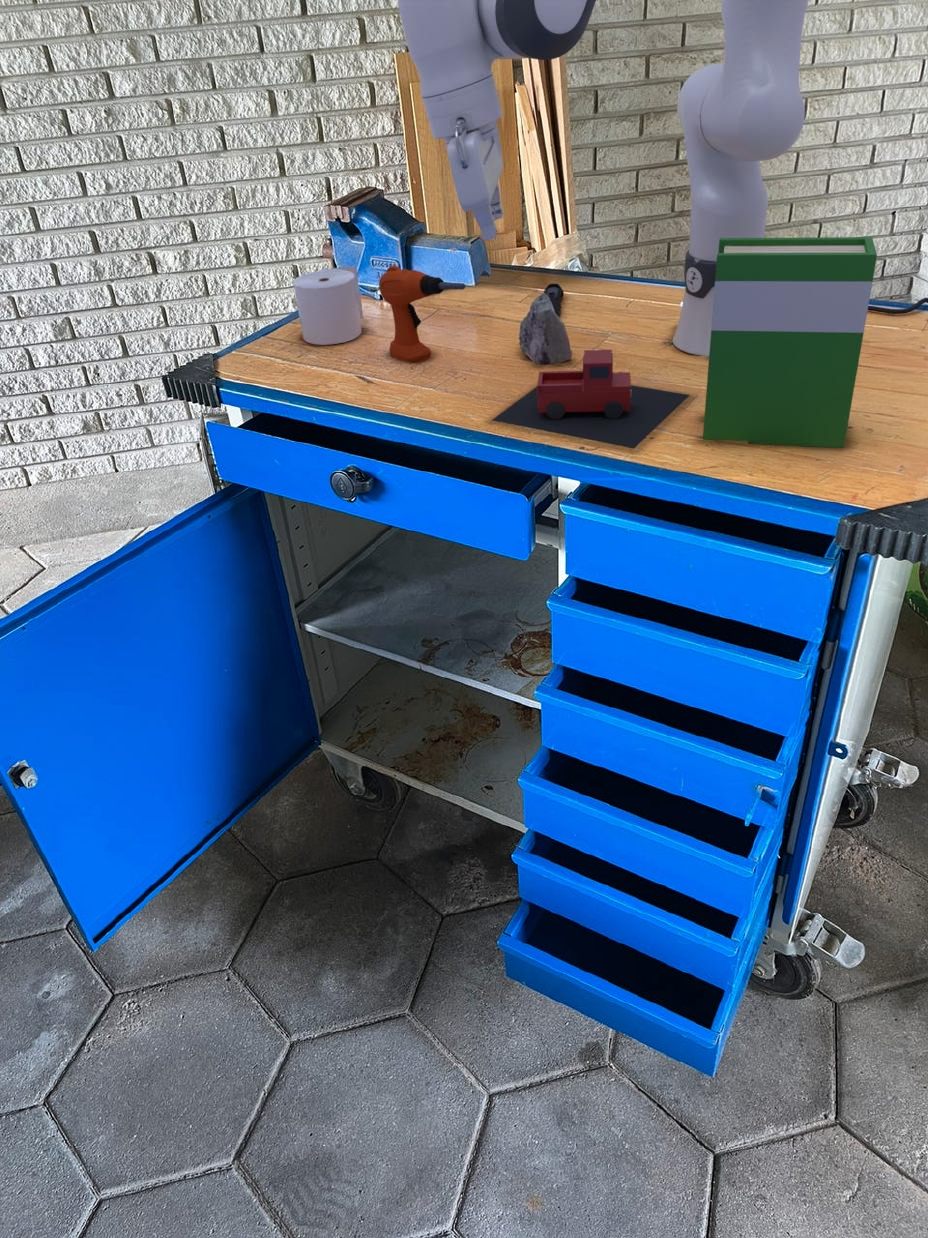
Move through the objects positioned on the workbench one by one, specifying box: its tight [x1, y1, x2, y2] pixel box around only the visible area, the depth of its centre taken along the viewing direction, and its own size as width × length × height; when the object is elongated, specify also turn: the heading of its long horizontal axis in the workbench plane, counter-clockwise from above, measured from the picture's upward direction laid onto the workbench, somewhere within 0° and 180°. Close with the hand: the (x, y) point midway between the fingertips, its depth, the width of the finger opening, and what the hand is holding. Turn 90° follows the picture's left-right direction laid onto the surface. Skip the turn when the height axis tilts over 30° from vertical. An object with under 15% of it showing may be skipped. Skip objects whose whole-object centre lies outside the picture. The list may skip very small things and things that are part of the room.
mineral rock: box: [518, 292, 573, 366], centre depth 155 cm, size 13×11×10 cm
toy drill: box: [378, 265, 466, 363], centre depth 154 cm, size 5×19×15 cm, turn 48°
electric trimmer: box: [543, 283, 565, 316], centre depth 173 cm, size 4×16×3 cm, turn 171°
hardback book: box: [702, 236, 878, 449], centre depth 121 cm, size 18×7×24 cm, turn 75°
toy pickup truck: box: [536, 349, 632, 420], centre depth 135 cm, size 13×6×8 cm, turn 83°
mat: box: [492, 384, 690, 450], centre depth 138 cm, size 19×22×1 cm
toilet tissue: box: [292, 265, 364, 346], centre depth 170 cm, size 11×12×10 cm
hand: (494, 227), depth 123 cm, fingers open, 8 cm apart
